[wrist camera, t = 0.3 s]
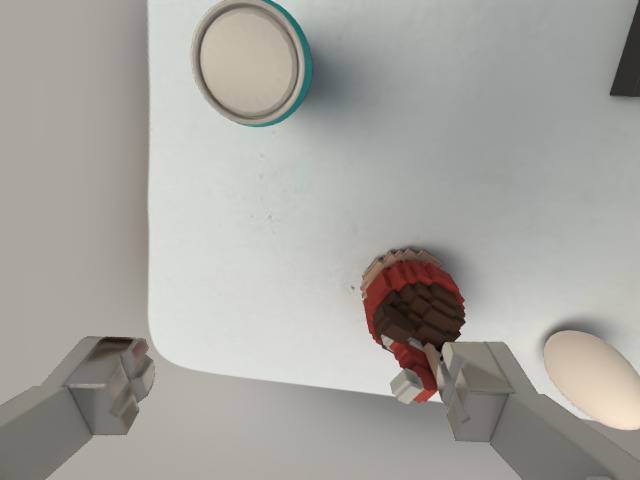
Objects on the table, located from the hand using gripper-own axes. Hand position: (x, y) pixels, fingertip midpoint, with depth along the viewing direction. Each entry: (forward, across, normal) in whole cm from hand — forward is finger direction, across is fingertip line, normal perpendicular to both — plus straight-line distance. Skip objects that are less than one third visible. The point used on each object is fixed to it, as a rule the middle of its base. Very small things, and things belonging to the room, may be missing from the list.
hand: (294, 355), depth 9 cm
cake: (+25, -10, +15) cm, 31 cm away
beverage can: (+26, +3, -6) cm, 27 cm away
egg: (+26, -30, +23) cm, 46 cm away
